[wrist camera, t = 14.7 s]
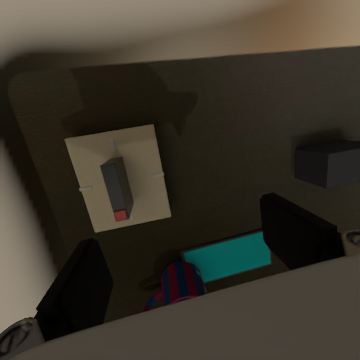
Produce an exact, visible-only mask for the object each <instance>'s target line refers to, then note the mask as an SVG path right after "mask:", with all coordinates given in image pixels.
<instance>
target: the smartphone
mask: <svg viewBox="0 0 360 360" xmlns="http://www.w3.org/2000/svg"><path fill="white" fill-rule="evenodd" d="M180 253H181V257H182V261H183V262H189V263H192V264H194V265H195V266H196V267H198V269H199V270H200V273H201V276H202V279H203V282H204V284H205V283H208V282H212V281H216V280H219V279H223V278H226V277H230V276H233V275H237V274H240V273H244V272H247V271H251V270H254V269H258V268H261V267H265V266H268V265H271V264H272V255H271V249H270V248H269V247H268V246H267V245H266V244H265V242H264V240H263V231H262V229H259V230H255V231H252V232H248V233H244V234H240V235H237V236H233V237H229V238H226V239H222V240H218V241H214V242H211V243H207V244H203V245H200V246H196V247H192V248H188V249H185V250H182V251H181V252H180Z"/></svg>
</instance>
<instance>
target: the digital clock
mask: <svg viewBox="0 0 360 360" xmlns="http://www.w3.org/2000/svg"><path fill="white" fill-rule="evenodd" d="M295 178H298V179H300V180H303V181H306V182H309V183H312V184H315V185H318V186H321V187H323V188H326V189H327V188H332V187H337V186H341V185H346V184H351V183H356V182H360V141H349V140H343V141H337V142H332V143H327V144H321V145H316V146H311V147H306V148H300V149H296V172H295Z"/></svg>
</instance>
